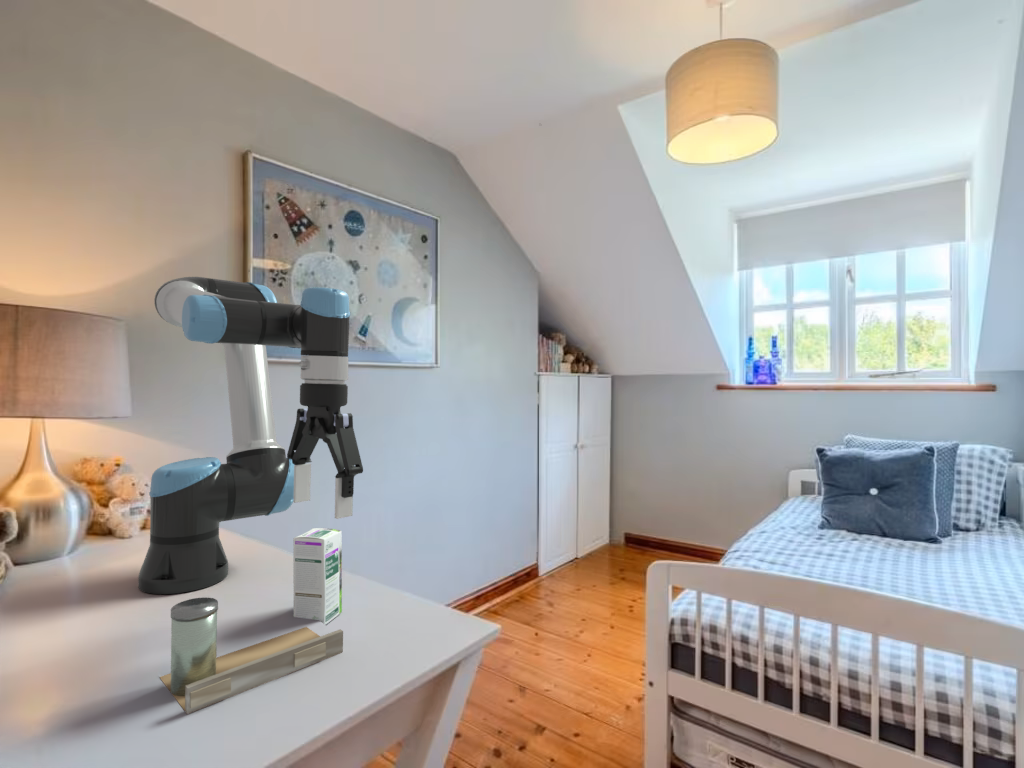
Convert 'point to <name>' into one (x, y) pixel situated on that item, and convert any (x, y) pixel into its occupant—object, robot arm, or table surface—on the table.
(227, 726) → the table surface
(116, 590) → the table surface
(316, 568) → the syrup box
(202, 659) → the sage tin
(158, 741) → the table surface
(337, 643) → the shelf board
